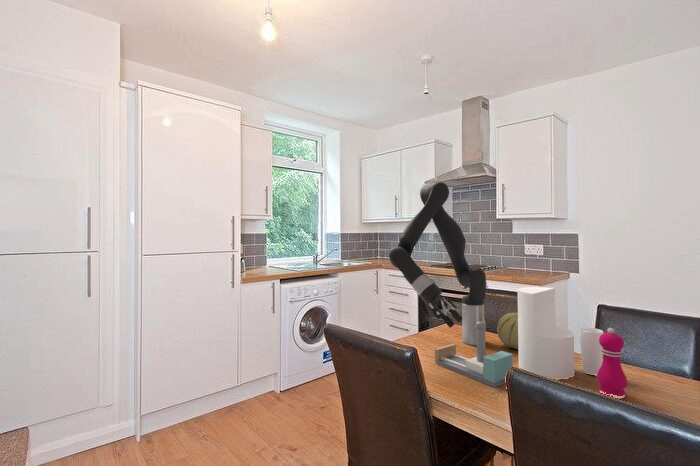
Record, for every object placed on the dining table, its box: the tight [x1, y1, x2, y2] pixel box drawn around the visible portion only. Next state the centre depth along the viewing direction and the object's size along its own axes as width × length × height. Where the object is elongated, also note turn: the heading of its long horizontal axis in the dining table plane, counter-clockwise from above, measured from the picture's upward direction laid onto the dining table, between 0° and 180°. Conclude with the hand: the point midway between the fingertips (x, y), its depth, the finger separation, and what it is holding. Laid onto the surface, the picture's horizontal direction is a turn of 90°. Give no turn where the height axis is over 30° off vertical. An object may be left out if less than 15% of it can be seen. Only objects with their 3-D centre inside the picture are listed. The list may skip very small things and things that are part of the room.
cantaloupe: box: [496, 312, 518, 350], centre depth 146 cm, size 15×15×15 cm
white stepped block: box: [517, 286, 576, 381], centre depth 123 cm, size 17×17×28 cm
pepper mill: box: [596, 327, 628, 400], centre depth 104 cm, size 7×7×20 cm
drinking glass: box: [579, 327, 605, 374], centre depth 119 cm, size 7×7×15 cm
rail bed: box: [434, 343, 514, 388], centre depth 123 cm, size 10×25×8 cm, turn 33°
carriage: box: [465, 321, 487, 373], centre depth 120 cm, size 8×7×16 cm
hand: (456, 323), depth 125 cm, fingers open, 8 cm apart
